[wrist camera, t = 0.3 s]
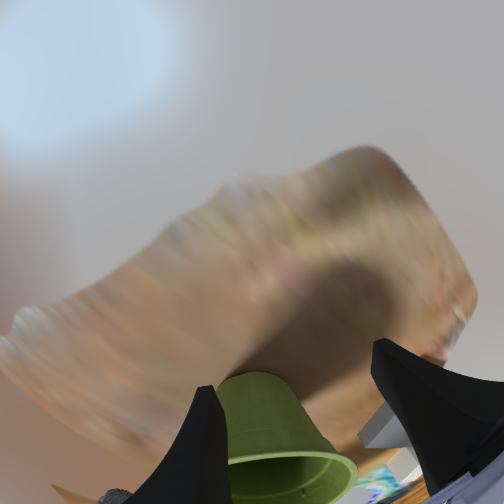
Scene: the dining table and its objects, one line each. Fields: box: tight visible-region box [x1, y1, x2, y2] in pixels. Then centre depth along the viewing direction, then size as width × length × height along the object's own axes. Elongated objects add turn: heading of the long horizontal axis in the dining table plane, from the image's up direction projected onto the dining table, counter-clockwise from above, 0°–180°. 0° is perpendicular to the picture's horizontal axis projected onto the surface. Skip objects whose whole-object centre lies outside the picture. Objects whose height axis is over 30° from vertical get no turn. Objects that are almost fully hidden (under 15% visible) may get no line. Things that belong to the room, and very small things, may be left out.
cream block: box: [386, 447, 422, 484], centre depth 25 cm, size 4×4×5 cm
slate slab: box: [357, 400, 413, 448], centre depth 24 cm, size 10×10×3 cm
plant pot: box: [216, 371, 358, 504], centre depth 17 cm, size 12×12×11 cm
